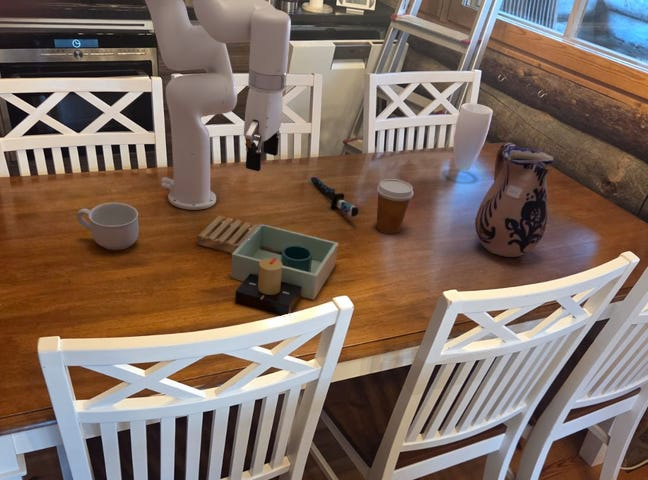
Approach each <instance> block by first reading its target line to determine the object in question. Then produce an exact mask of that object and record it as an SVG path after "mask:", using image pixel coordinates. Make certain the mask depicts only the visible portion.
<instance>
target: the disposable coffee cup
mask: <svg viewBox="0 0 648 480" xmlns="http://www.w3.org/2000/svg"><path fill="white" fill-rule="evenodd" d="M376 191H377V205H376V206H377V209H376V210H377V211H376V229H377V230H378V231H380V232H382V233H385V234H397V233H399V232H400V230H401V227H402V225H403V221H404V219H405V216H406V213H407V210H408V208H409V205H410V201H411V199H412V198H413V196H414V194H415V193H414V190H413V185H411V184H410V183H408V182H406V181H404V180H401V179H396V178H387V179H382V180H381V181H380V182H379V183H378V185H377V187H376Z"/></svg>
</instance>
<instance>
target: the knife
mask: <svg viewBox="0 0 648 480" xmlns="http://www.w3.org/2000/svg"><path fill="white" fill-rule="evenodd" d="M310 181H311V183H312V184H313V186H315V188H316V189H317V190H318V191H319V192H320V193H321V194H322V195H323V196H325V197H326V198H327V199H328V200H329V201H331V204H330V208H331V209H332V210H334V209H339V210H341V212H343V213H345V214H346V215H347V216H349V217H350V218H354V217H356V216H358V214H359V208H358V207H357V206H356V205H354V204H351V203H349V202H347V201H346V200H344V198H345V194H344V193H343V192H338V193H336V188H330V187H329V186H327V185H326V184H325V183H324V182H323V181H322V180H321V179H320V178H318V177H316V176H312V177H310Z"/></svg>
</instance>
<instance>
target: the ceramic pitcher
mask: <svg viewBox="0 0 648 480" xmlns="http://www.w3.org/2000/svg"><path fill="white" fill-rule="evenodd" d="M554 162H555V157H554V156H552V155H550V154H548V153H545V152H543V151H540V150H537V149H532V148H526V147H520V146H517V144H514V143H512V142H507V143H504V144H502V145H501V146H500V147H499V149H498V151H497V153H496V156H495V161H494V171H493V173H494V174H493V183H492V184H491V186H490V187H489V189H488V191H487V192H486V193H485V196H484V197H483V198H482V201H481V202H480V205H479V207H478V210H477V213H476V216H475V221H474V228H475V233H476V235H477V238H478V240H479V242H480V243H481V245H482V246H483V248H485V250H487V251H488V252H490V253H491V254H494V255H496V256H499V257H504V258H505V257H506V258H516V257H521V256H523V255H525V254H528V253H529V252H531V251H532V250H533V249H534V248H535V247H536V246H537V245H538V244H539V243H540V241H541V239H542V238H543V236H544V234H545V232H546V227H547V222H548V207H549V206H548V202H549V201H548V197H549V196H548V195H549V194H548V172H549V170H550V166H551V165H552V164H553V163H554Z"/></svg>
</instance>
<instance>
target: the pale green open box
mask: <svg viewBox="0 0 648 480" xmlns="http://www.w3.org/2000/svg"><path fill="white" fill-rule="evenodd" d="M257 225H258V226H257V228H256V229H255V230H254V231H253V232H252V233H251V234H250V235H249V236H248V237H247V238H246V239H245V240H244V242H243V243H242V244H241V245H240V246H239V247H238V248H237V249H236V250H235V251H234V252H233V253H231V270H230V271H231V273H230V274H231V275H230V277H231V279H234V280H237V281H241V282H244V280H245V279H246V278H247V277H248V276H249V274H250V273H251V274H255V275H259V262H260V261H261V260H263V259H267V258H272V259H273V258H277V260H279V261H280V262H281V255H279V254H275V253H271V252H267V251H263V250H261V249H260V246H266V247H270V248H274V249H277V250H281V251H282V250H283V249H284V248H285V247H288V246H294V245H298V246H302V247H306V248H307V249H309V250H311V252H312V264H311V272H306V271H302V270H298V269H294V268H290V267H287V266H283V265H282V277H281V282H285V283H289V284H293V285H297V286H300V287H302V290H301V298H305V299H308V300H315V299H316V297H317V295H318V294H319V292H320V291H321V289H322V287H323V286H324V284H325V283H326V281H327V279H328V278H329V276H330V275H331V273H332V272H333V270H334V268H335V267H336V262H337V255H338V249H339V242H336V241H332V240H329V239H324V238H321V237H317V236H314V235H313V236H312V235H308V234H304V233H300V232H295V231H292V230H289V229H284V228H280V227H277V226H271V225H268V224H264V223H259V224H257Z"/></svg>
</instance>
